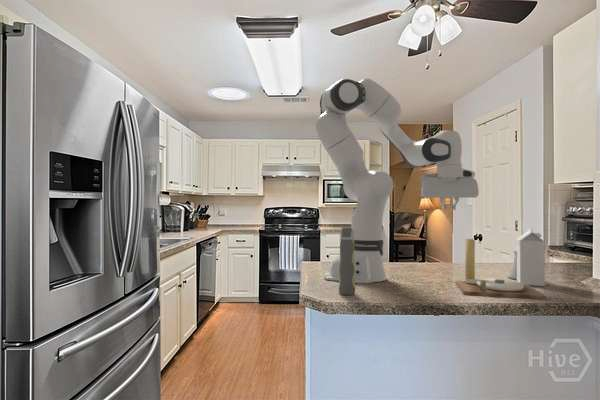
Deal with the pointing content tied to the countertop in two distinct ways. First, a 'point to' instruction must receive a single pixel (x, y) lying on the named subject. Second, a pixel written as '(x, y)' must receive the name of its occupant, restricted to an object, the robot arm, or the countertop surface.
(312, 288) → the countertop surface
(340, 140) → the robot arm
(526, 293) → the base board
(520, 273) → the milk carton
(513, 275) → the flask
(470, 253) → the white and beige stand
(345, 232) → the grey upright post
